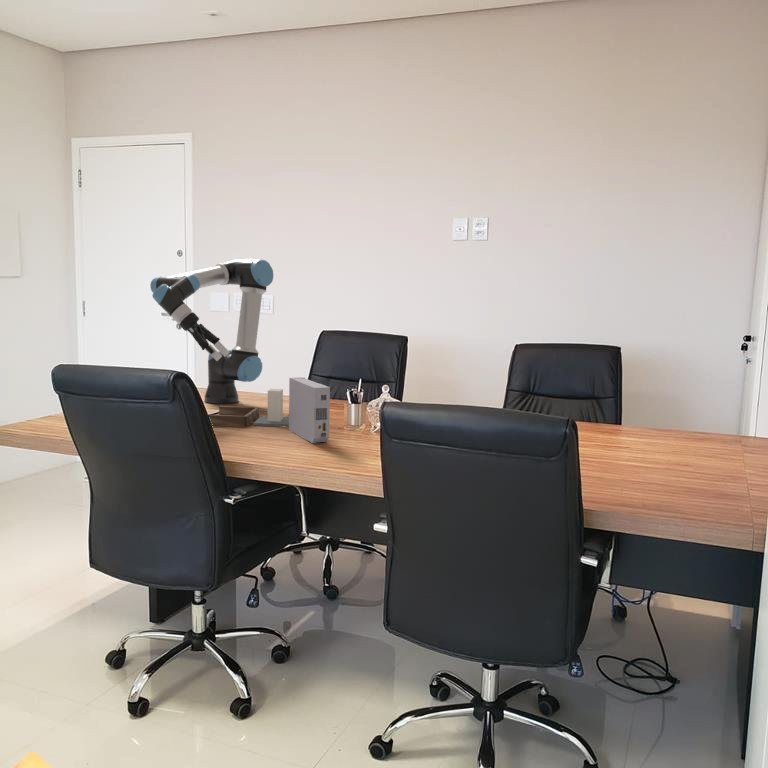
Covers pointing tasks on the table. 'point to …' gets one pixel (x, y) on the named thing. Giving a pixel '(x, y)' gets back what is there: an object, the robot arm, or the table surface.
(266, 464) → the table surface
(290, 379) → the game console
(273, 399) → the cream block
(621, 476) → the table surface
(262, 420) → the mat
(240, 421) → the brown wooden tray
